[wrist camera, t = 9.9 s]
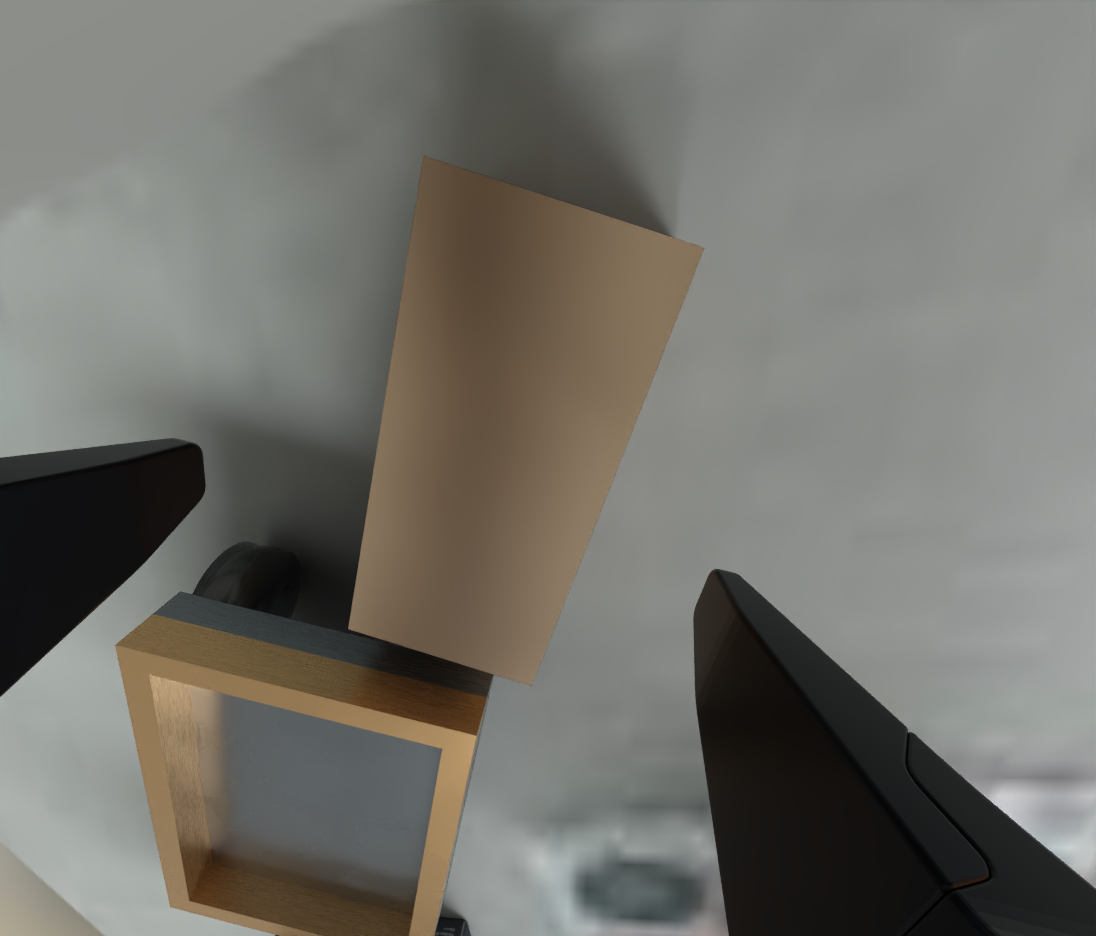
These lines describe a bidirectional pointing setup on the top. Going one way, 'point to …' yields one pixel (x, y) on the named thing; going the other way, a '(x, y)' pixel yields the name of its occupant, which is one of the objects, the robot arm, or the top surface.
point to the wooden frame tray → (297, 758)
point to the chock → (506, 413)
